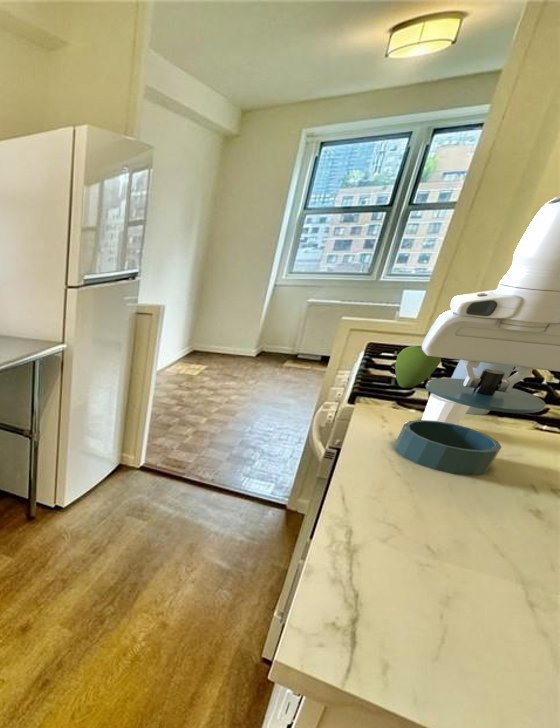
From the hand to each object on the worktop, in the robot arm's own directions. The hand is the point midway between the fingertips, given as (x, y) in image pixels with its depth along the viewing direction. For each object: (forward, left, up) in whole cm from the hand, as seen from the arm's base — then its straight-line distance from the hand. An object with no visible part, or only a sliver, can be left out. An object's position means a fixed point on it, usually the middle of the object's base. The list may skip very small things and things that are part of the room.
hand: (484, 388), depth 82 cm
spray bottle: (-10, -44, -17) cm, 48 cm away
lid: (0, 0, -1) cm, 1 cm away
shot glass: (-3, -26, -17) cm, 31 cm away
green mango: (0, -54, -17) cm, 56 cm away
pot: (-1, -7, -17) cm, 18 cm away
